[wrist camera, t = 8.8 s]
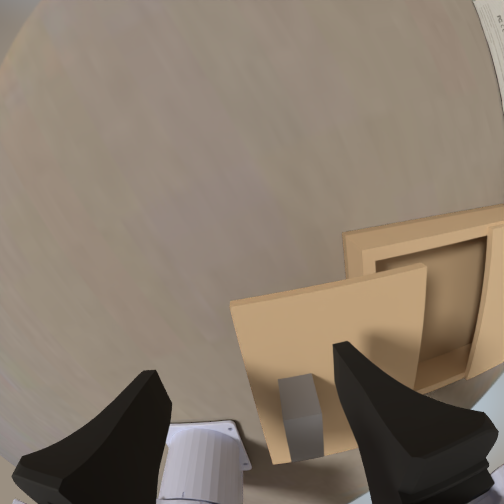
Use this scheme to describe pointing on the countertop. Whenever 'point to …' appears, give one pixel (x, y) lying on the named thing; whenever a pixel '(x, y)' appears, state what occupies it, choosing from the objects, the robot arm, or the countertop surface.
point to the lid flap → (325, 353)
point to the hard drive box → (494, 34)
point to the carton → (445, 286)
